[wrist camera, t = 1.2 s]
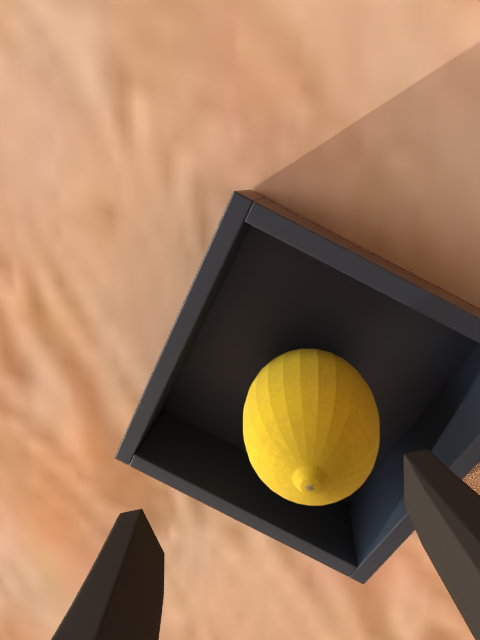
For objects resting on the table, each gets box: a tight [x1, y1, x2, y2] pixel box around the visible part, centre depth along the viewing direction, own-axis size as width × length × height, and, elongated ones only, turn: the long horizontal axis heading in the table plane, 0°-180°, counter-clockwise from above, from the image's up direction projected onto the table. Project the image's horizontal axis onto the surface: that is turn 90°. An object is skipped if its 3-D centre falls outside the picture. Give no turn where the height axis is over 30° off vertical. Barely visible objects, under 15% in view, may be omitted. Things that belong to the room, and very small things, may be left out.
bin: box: [115, 190, 480, 584], centre depth 18 cm, size 14×14×4 cm
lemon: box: [243, 349, 380, 506], centre depth 16 cm, size 6×6×8 cm
